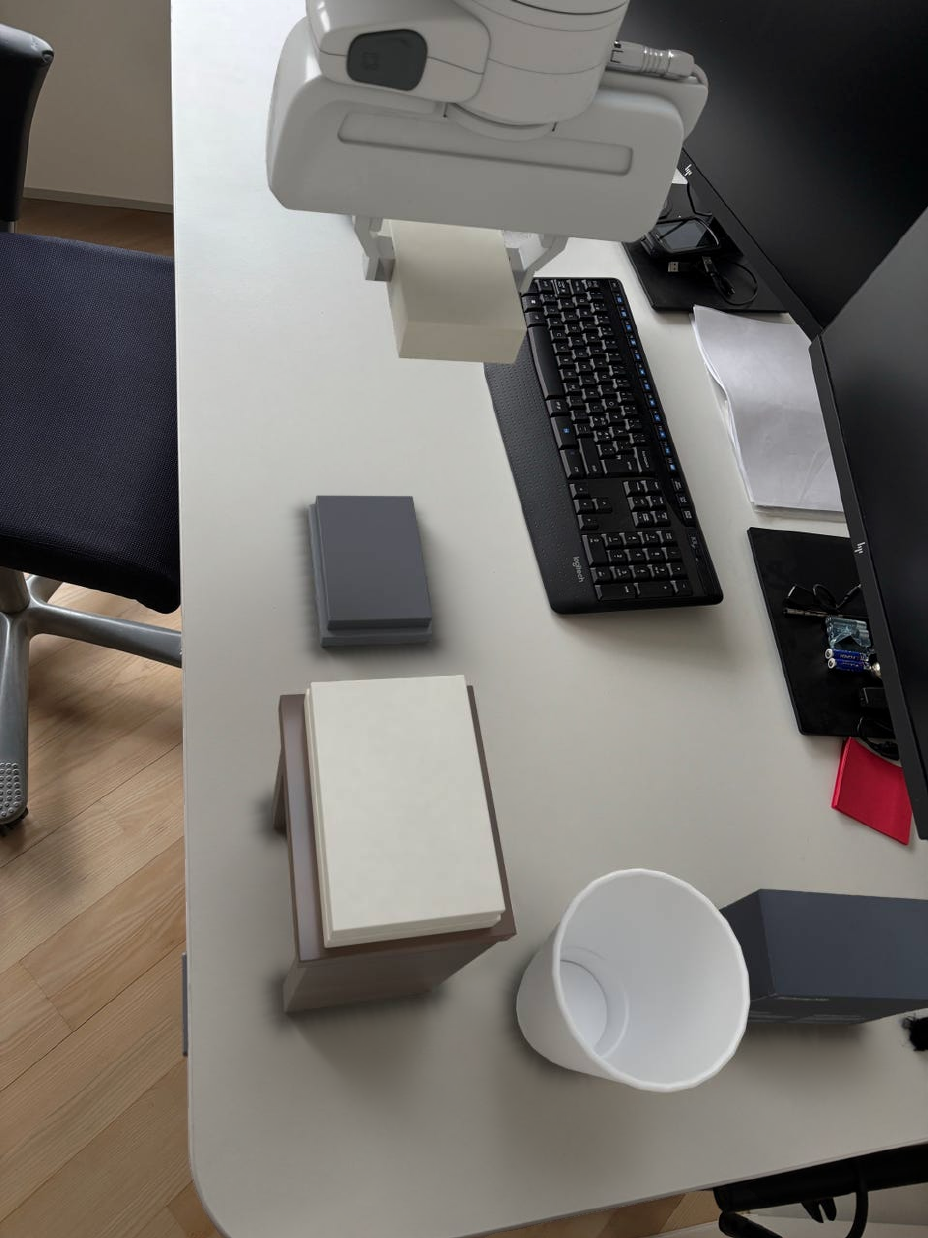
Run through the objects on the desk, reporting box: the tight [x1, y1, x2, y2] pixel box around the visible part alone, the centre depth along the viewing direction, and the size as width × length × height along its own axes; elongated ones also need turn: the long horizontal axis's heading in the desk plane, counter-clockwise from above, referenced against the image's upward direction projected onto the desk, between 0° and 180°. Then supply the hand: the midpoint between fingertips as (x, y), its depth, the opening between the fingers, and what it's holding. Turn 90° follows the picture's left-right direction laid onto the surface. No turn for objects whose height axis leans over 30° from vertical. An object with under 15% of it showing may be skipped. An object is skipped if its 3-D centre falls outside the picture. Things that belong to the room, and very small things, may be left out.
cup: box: [515, 867, 750, 1094], centre depth 58 cm, size 12×12×16 cm
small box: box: [718, 888, 928, 1026], centre depth 64 cm, size 13×7×12 cm, turn 90°
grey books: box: [307, 495, 433, 647], centre depth 77 cm, size 13×9×3 cm
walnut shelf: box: [271, 684, 518, 1013], centre depth 57 cm, size 14×11×20 cm
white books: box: [304, 674, 505, 948], centre depth 47 cm, size 13×8×4 cm, turn 9°
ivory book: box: [377, 219, 528, 365], centre depth 51 cm, size 11×6×3 cm, turn 9°
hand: (444, 279), depth 51 cm, fingers closed on ivory book, 6 cm apart
